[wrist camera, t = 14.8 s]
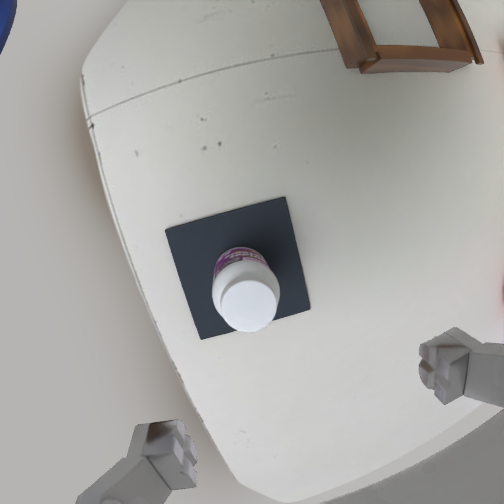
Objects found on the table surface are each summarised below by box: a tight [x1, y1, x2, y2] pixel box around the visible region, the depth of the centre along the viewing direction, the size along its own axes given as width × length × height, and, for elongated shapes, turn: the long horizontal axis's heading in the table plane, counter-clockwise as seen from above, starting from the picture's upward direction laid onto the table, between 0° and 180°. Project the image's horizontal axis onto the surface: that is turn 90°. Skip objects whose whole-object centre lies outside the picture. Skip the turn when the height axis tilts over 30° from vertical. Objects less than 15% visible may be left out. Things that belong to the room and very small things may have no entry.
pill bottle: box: [212, 247, 280, 332], centre depth 27 cm, size 5×5×10 cm
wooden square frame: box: [320, 0, 484, 74], centre depth 25 cm, size 17×18×6 cm
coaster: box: [165, 197, 310, 340], centre depth 32 cm, size 12×12×1 cm
